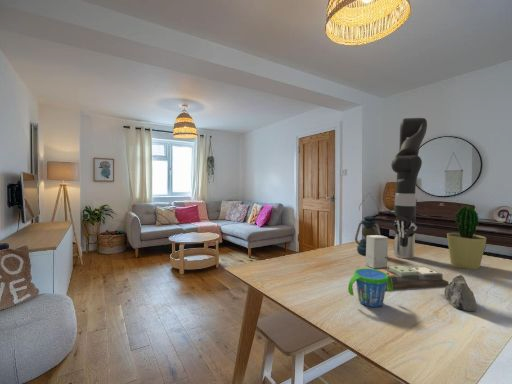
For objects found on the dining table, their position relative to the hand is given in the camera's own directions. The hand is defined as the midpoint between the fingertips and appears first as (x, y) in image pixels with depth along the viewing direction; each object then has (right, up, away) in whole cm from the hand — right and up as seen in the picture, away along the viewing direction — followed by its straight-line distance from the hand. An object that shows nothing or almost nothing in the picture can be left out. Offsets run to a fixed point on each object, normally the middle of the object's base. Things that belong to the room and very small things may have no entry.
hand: (403, 246), depth 108 cm
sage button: (0, -12, +1) cm, 12 cm away
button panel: (0, -15, +1) cm, 15 cm away
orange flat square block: (-10, -13, -1) cm, 16 cm away
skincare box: (-2, -14, +20) cm, 24 cm away
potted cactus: (+43, -14, +22) cm, 50 cm away
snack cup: (-22, -15, -19) cm, 33 cm away
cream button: (+10, -12, +2) cm, 16 cm away
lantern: (+3, -13, +42) cm, 44 cm away
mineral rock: (+9, -16, -19) cm, 26 cm away
